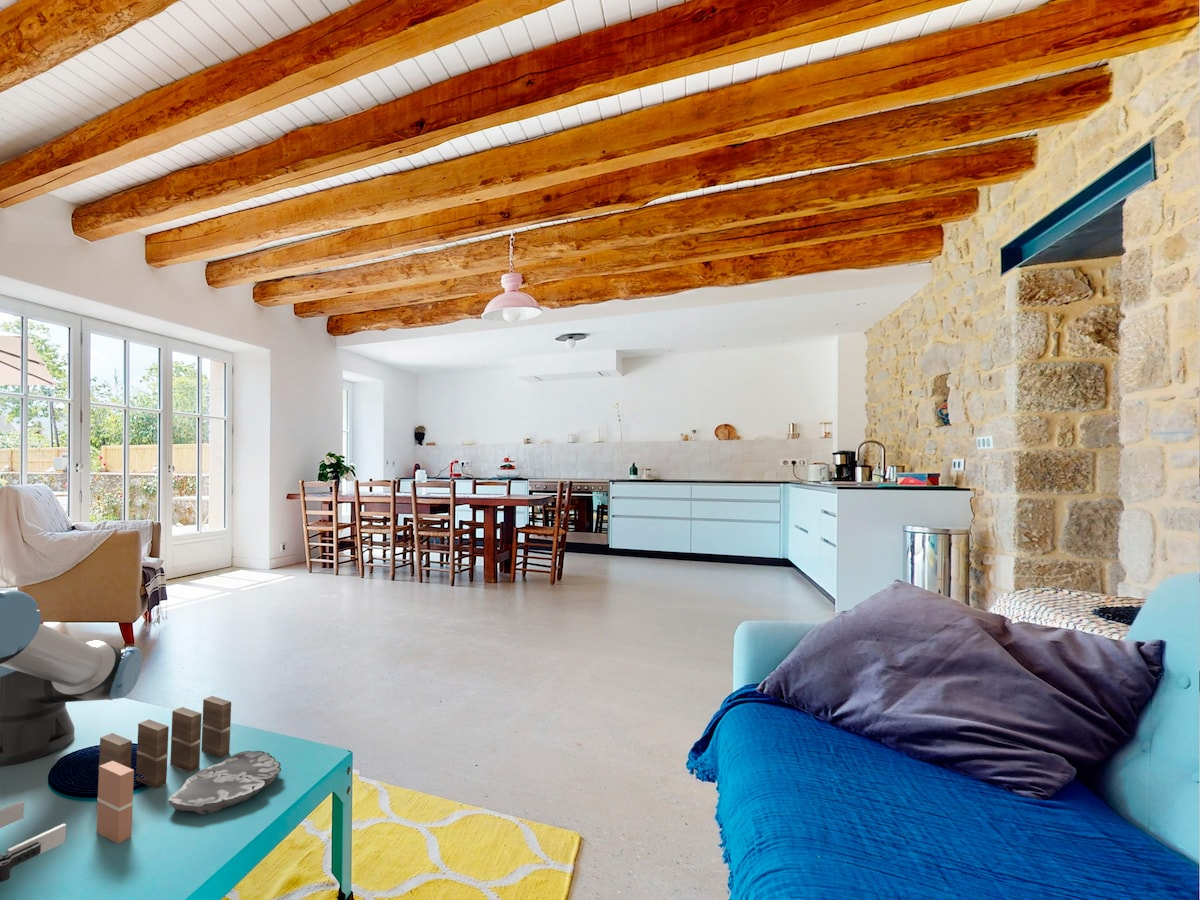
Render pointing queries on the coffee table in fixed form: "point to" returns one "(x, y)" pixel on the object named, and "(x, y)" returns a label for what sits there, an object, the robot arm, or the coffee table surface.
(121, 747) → the domino
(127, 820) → the domino
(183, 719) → the domino
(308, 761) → the coffee table surface
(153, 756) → the domino
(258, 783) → the brain slice
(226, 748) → the domino
